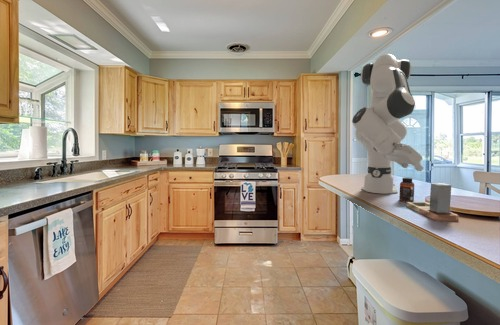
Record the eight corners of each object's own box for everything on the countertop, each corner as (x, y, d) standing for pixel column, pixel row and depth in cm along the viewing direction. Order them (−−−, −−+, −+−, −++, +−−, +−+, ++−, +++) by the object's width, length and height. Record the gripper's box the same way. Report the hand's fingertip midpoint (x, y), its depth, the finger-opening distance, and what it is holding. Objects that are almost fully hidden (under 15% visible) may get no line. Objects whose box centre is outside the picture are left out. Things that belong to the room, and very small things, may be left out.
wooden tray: (406, 206, 112) (406, 202, 112) (425, 206, 112) (425, 202, 111) (435, 220, 93) (435, 215, 93) (458, 220, 93) (458, 215, 92)
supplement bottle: (416, 202, 118) (417, 179, 117) (402, 202, 119) (403, 179, 118) (410, 199, 124) (411, 177, 123) (397, 199, 125) (398, 177, 124)
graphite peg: (429, 215, 99) (430, 183, 98) (441, 215, 99) (442, 182, 98) (436, 218, 95) (438, 185, 94) (449, 219, 95) (451, 185, 93)
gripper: (409, 137, 85) (438, 165, 85) (381, 137, 105) (405, 160, 105) (395, 150, 85) (423, 178, 86) (370, 148, 106) (393, 170, 106)
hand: (413, 168), depth 96 cm, fingers open, 8 cm apart
